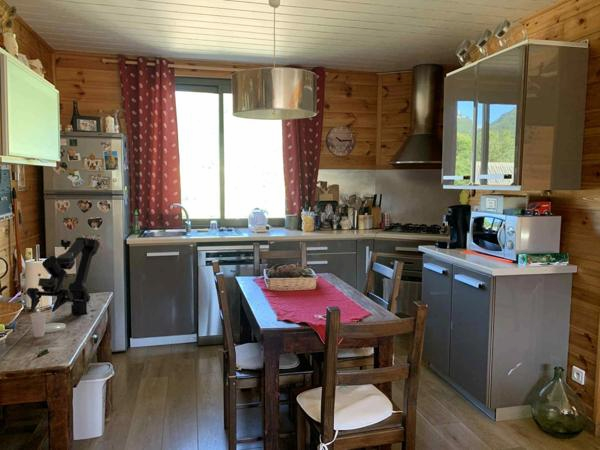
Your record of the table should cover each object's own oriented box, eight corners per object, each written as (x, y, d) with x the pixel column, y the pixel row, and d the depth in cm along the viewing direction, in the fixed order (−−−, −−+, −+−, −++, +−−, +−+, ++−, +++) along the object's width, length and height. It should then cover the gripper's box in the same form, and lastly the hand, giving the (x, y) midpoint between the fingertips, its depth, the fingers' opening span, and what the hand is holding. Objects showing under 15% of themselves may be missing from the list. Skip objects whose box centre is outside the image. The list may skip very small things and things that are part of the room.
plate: (63, 323, 217) (63, 321, 217) (67, 330, 208) (67, 328, 208) (36, 327, 211) (36, 325, 211) (39, 334, 202) (39, 332, 202)
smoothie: (40, 339, 197) (39, 306, 195) (26, 337, 198) (26, 305, 196) (51, 334, 203) (50, 302, 201) (38, 332, 204) (37, 301, 203)
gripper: (27, 269, 206) (12, 300, 196) (69, 271, 205) (55, 302, 195) (38, 283, 215) (24, 313, 205) (78, 285, 214) (66, 315, 204)
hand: (42, 311), depth 202 cm, fingers open, 9 cm apart
